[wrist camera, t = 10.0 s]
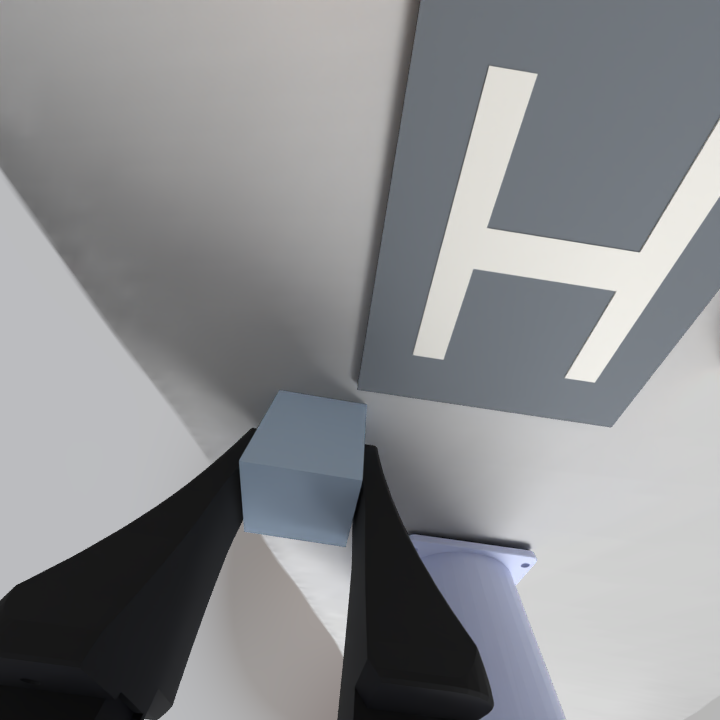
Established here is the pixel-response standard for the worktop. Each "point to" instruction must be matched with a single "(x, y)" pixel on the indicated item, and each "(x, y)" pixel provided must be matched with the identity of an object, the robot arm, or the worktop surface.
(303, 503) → the blue cube
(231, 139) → the worktop surface
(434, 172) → the letter mat
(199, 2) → the worktop surface
